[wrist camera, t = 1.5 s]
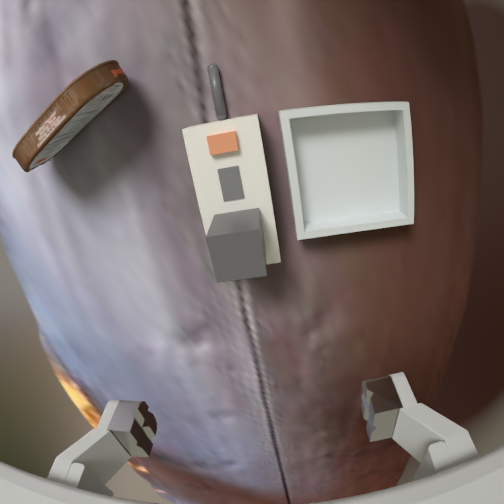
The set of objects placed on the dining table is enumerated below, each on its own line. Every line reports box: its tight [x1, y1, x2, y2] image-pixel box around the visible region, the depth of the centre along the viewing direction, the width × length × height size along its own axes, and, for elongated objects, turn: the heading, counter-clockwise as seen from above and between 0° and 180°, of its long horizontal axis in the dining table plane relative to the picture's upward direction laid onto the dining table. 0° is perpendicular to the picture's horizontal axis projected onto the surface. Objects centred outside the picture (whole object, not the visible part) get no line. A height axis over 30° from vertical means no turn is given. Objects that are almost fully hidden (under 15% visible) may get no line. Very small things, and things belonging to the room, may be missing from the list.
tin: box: [12, 60, 128, 172], centre depth 27 cm, size 15×3×8 cm, turn 122°
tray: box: [277, 101, 414, 240], centre depth 31 cm, size 13×13×3 cm
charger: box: [206, 208, 267, 283], centre depth 31 cm, size 4×4×7 cm
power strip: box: [182, 64, 281, 264], centre depth 31 cm, size 21×7×4 cm, turn 10°
